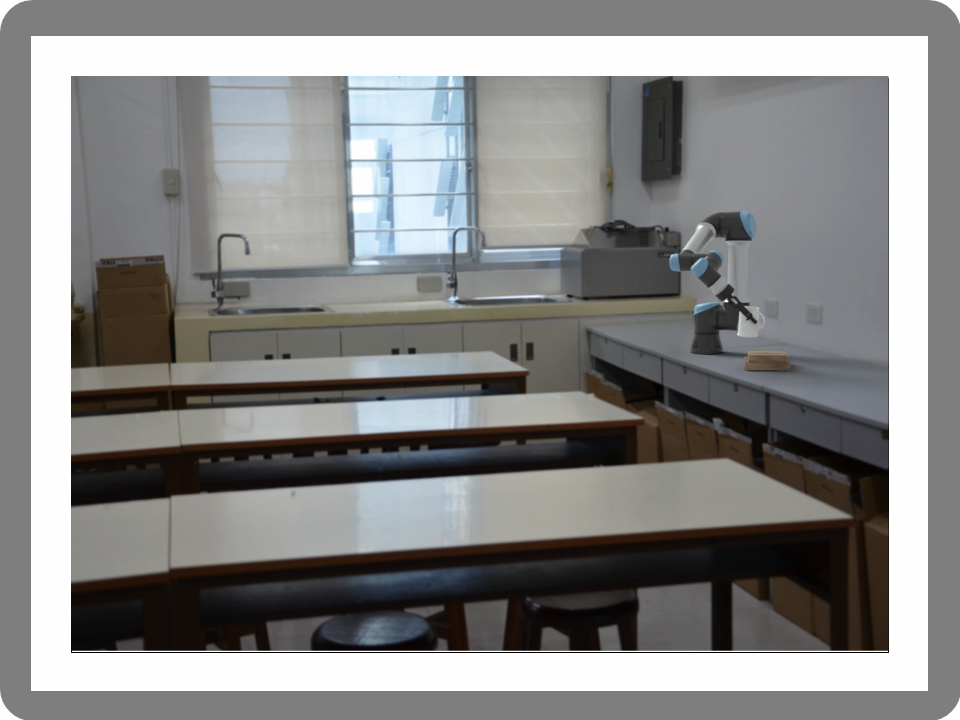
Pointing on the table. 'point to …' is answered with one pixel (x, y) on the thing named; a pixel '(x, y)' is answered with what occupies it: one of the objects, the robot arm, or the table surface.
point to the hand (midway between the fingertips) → (759, 327)
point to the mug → (749, 323)
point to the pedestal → (767, 360)
